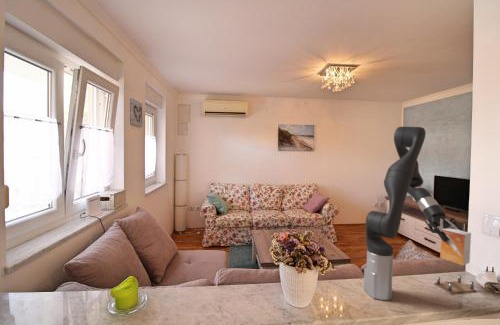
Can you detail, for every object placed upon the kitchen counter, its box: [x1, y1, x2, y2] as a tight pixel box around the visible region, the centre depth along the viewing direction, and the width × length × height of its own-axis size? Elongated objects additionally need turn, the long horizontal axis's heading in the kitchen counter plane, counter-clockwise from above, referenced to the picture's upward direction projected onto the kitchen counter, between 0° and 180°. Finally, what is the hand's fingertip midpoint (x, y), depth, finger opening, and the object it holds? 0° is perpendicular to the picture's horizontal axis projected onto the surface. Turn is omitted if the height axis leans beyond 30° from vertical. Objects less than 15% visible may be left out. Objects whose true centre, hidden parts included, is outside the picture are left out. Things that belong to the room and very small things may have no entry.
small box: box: [439, 228, 472, 266], centre depth 99 cm, size 8×6×13 cm
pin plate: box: [434, 274, 477, 295], centre depth 99 cm, size 12×7×4 cm, turn 99°
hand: (454, 240), depth 99 cm, fingers closed on small box, 7 cm apart
